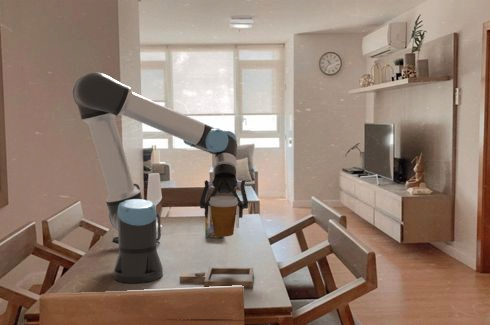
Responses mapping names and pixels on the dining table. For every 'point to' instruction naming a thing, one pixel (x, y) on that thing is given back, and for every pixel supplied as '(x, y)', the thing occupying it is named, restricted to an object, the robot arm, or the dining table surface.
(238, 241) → the dining table surface
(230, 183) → the robot arm
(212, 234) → the crayon box
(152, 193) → the champagne flute
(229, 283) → the tray
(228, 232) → the disposable coffee cup
